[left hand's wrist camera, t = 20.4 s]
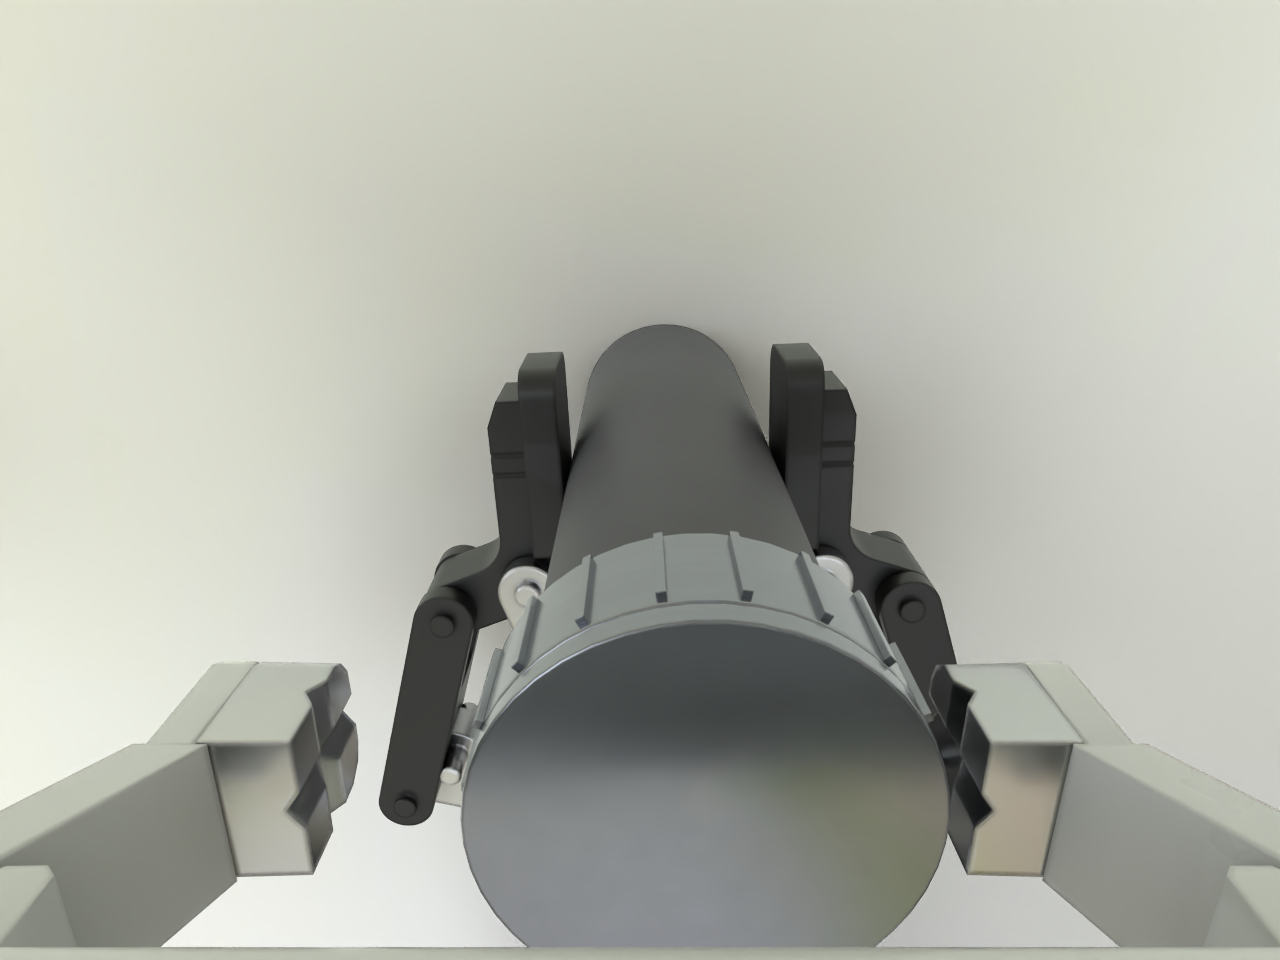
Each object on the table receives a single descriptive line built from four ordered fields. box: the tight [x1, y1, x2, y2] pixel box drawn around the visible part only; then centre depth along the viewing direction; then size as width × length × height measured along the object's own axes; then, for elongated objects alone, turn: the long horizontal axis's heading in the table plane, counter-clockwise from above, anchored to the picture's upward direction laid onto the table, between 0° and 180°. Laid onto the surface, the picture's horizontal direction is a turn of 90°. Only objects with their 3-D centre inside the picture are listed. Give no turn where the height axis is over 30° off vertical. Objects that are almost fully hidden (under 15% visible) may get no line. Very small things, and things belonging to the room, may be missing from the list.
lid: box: [461, 531, 950, 947], centre depth 10 cm, size 5×5×2 cm
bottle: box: [544, 325, 819, 591], centre depth 17 cm, size 4×4×15 cm
